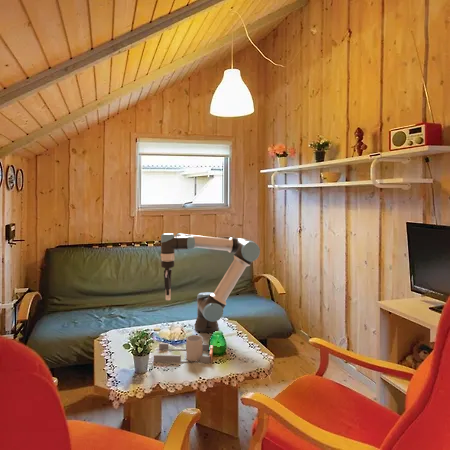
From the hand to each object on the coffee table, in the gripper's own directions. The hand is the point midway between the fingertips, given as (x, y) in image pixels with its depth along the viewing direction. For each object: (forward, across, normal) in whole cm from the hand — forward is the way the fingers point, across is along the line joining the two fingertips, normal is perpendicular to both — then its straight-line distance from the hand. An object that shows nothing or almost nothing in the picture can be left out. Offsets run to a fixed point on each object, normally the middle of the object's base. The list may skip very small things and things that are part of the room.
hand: (168, 299), depth 235 cm
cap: (+19, +21, +27) cm, 39 cm away
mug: (+25, +22, +17) cm, 37 cm away
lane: (+24, +21, +12) cm, 34 cm away
